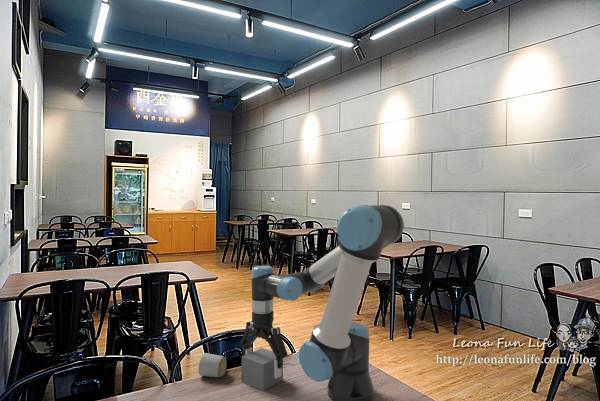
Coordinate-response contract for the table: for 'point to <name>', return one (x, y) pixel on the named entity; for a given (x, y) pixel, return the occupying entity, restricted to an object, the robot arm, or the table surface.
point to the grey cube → (259, 369)
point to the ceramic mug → (212, 365)
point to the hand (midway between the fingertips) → (263, 371)
